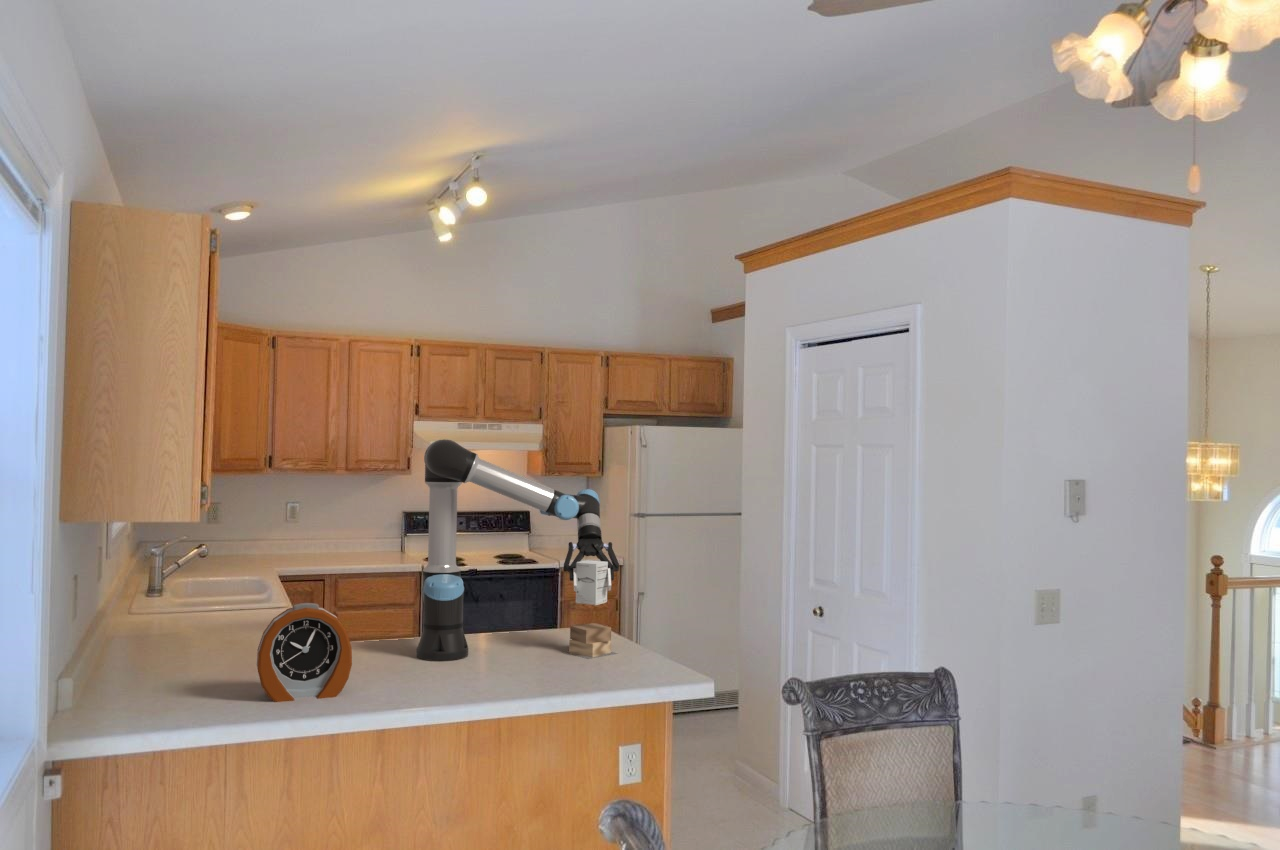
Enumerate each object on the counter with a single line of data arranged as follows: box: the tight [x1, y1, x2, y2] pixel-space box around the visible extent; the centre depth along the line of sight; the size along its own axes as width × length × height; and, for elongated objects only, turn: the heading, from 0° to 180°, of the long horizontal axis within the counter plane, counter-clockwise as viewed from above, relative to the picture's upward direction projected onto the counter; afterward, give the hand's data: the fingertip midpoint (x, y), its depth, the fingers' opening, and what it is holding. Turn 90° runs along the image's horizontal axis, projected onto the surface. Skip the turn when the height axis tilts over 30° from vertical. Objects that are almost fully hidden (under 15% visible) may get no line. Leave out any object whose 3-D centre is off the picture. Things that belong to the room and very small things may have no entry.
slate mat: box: [562, 651, 619, 660], centre depth 294 cm, size 12×12×1 cm
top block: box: [569, 622, 612, 644], centre depth 294 cm, size 9×9×4 cm
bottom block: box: [568, 639, 612, 657], centre depth 294 cm, size 9×9×4 cm
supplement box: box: [575, 559, 608, 606], centre depth 295 cm, size 7×7×13 cm
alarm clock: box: [256, 602, 353, 703], centre depth 242 cm, size 22×10×23 cm, turn 114°
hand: (592, 588), depth 291 cm, fingers closed on supplement box, 10 cm apart
